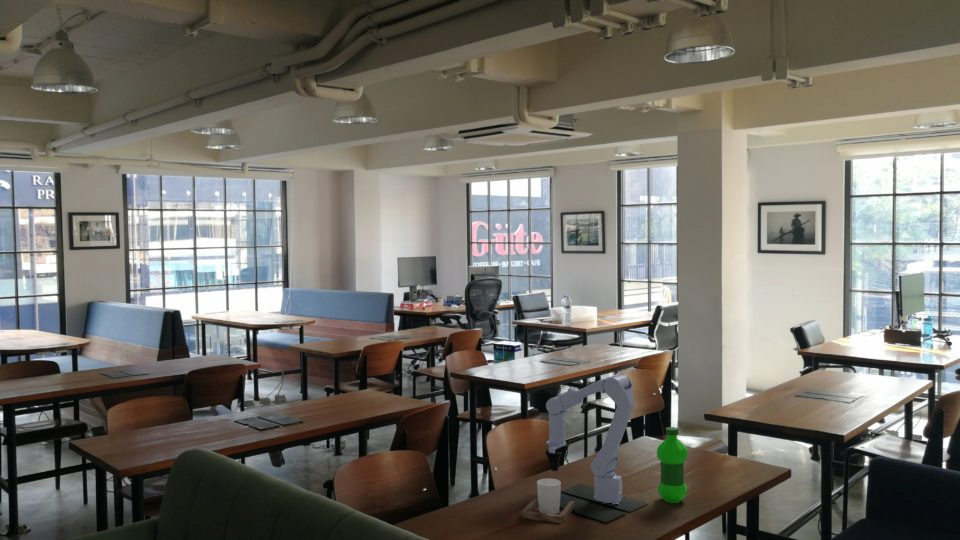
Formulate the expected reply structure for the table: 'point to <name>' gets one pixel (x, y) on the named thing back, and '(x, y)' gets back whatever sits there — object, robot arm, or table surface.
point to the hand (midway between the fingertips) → (557, 467)
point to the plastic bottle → (672, 467)
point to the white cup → (549, 495)
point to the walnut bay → (560, 518)
